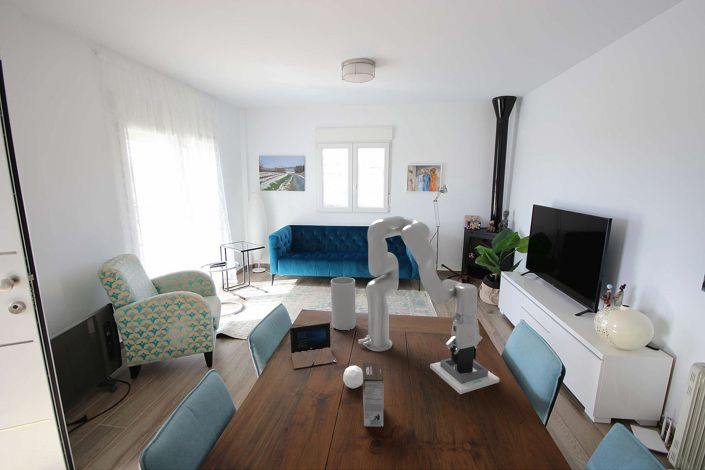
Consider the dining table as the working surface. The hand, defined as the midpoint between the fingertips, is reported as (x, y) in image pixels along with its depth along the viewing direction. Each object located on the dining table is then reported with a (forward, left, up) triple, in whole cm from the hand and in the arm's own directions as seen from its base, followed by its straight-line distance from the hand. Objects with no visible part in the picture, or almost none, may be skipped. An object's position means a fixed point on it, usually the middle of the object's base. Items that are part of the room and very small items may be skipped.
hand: (463, 359), depth 124 cm
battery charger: (0, 0, -5) cm, 5 cm away
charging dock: (0, 0, -6) cm, 6 cm away
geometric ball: (-42, +10, -7) cm, 44 cm away
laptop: (-51, +34, -7) cm, 62 cm away
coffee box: (-42, -7, -7) cm, 43 cm away
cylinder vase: (-28, +59, -7) cm, 66 cm away
